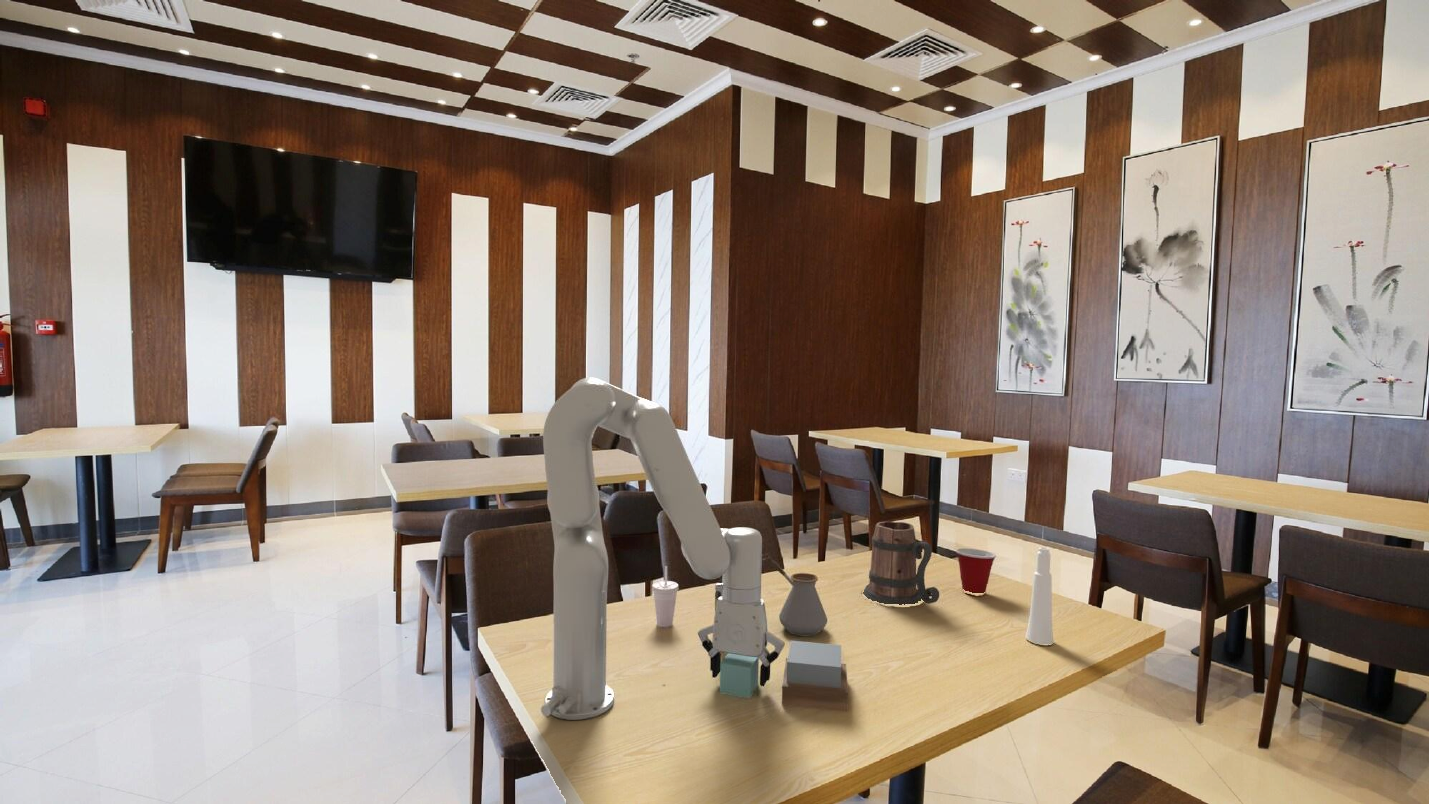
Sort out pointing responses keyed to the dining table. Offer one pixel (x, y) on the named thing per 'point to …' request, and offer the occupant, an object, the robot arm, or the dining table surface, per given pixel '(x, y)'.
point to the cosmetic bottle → (1041, 601)
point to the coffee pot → (801, 604)
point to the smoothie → (665, 601)
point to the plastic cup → (975, 568)
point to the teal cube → (739, 675)
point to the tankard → (898, 566)
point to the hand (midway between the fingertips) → (739, 678)
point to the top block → (814, 664)
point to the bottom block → (816, 694)
